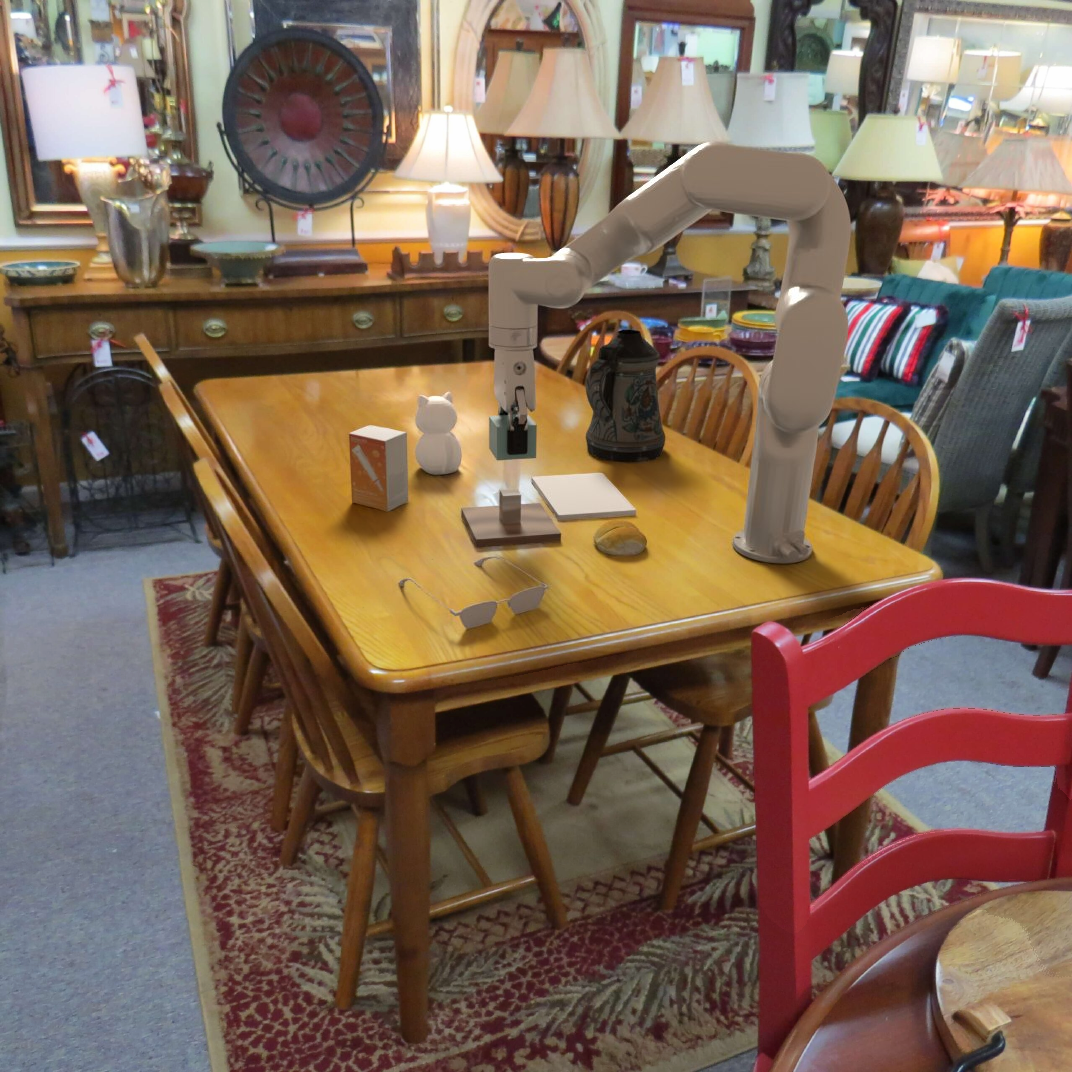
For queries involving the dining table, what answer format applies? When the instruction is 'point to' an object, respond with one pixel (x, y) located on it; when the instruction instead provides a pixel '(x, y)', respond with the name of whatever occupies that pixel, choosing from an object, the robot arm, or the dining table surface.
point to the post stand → (510, 522)
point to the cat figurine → (437, 435)
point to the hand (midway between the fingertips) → (512, 446)
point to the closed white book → (582, 496)
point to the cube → (499, 438)
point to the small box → (379, 467)
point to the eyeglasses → (487, 609)
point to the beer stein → (625, 401)
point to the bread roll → (619, 538)
